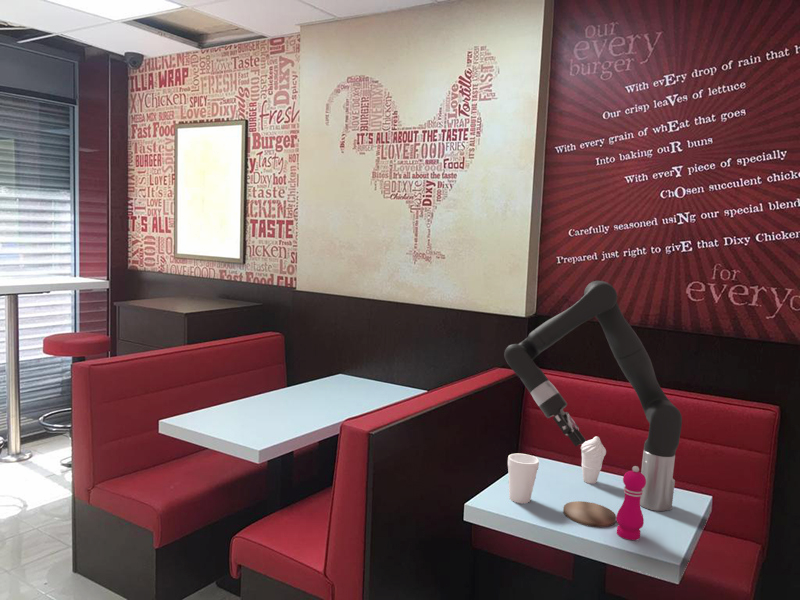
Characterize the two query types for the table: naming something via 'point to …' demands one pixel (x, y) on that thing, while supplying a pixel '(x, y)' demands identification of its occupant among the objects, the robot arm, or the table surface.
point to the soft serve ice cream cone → (592, 459)
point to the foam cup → (521, 476)
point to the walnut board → (589, 514)
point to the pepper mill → (631, 506)
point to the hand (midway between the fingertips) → (581, 443)
